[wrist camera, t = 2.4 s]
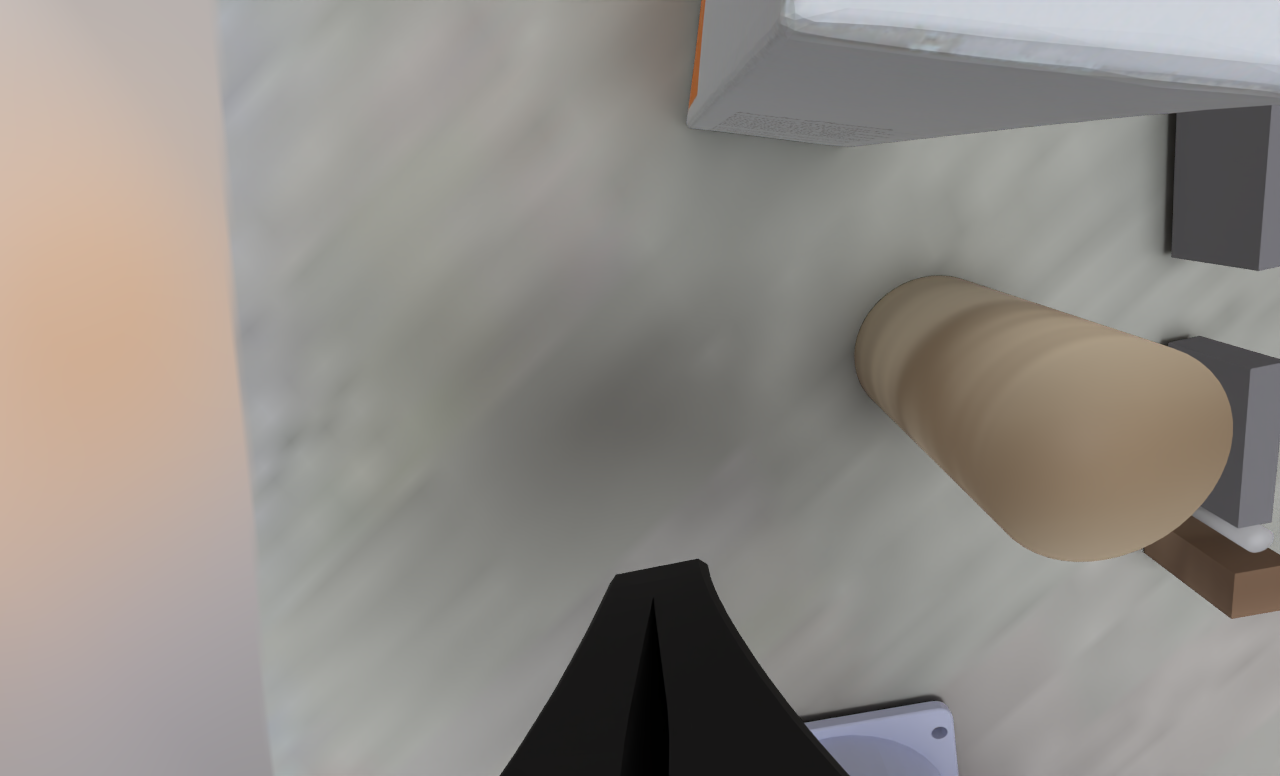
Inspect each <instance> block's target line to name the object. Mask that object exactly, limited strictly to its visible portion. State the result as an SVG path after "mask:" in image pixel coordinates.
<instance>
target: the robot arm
mask: <svg viewBox="0 0 1280 776" xmlns="http://www.w3.org/2000/svg"><path fill="white" fill-rule="evenodd" d="M937 727H939V728H937ZM935 728H936V729H935ZM500 776H959V774H958V763H957V753H956V743H955V732H954V722H953V716H952V713H951V712H950V710H949V708H948V706H947V705H946V704H944V703H943V702H940V701H930V702H924V703H918V704H912V705H906V706H900V707H894V708H888V709H883V710H877V711H871V712H865V713H859V714H853V715H847V716H841V717H836V718H830V719H824V720H818V721H812V722H806V723H804V722H803V721H802V720H801V719H800V718H799V716H798V715H797V714H796V713H795V711H794V710H793V709H792V708H791V706H790V705H789V704H788V702H787V701H786V700H785V698H784V697H783V696H782V694H781V693H780V692H779V690H778V689H777V688H776V687H775V685H774V684H773V683H772V681H771V680H770V679H769V677H768V676H767V674H766V673H765V671H764V670H763V669H762V667H761V666H760V664H759V663H758V662H757V660H756V659H755V657H754V656H753V654H752V652H751V651H750V649H749V648H748V646H747V645H746V643H745V642H744V640H743V639H742V637H741V636H740V634H739V633H738V631H737V629H736V628H735V626H734V624H733V623H732V621H731V619H730V618H729V616H728V614H727V612H726V610H725V608H724V606H723V604H722V603H721V601H720V599H719V597H718V595H717V592H716V590H715V588H714V586H713V583H712V581H711V577H710V573H709V569H708V565H707V564H706V563H704V562H703V561H701V560H699V559H694V560H689V561H684V562H679V563H674V564H669V565H664V566H658V567H653V568H648V569H643V570H638V571H633V572H628V573H622V574H617V575H616V576H615V577H614V578H613V580H612V581H611V583H610V585H609V587H608V589H607V591H606V593H605V595H604V597H603V599H602V601H601V603H600V606H599V608H598V610H597V612H596V614H595V616H594V618H593V620H592V622H591V624H590V626H589V628H588V630H587V632H586V633H585V635H584V637H583V639H582V641H581V643H580V645H579V647H578V649H577V650H576V652H575V654H574V656H573V658H572V660H571V661H570V663H569V665H568V667H567V669H566V670H565V672H564V674H563V676H562V678H561V679H560V681H559V683H558V685H557V687H556V688H555V690H554V692H553V693H552V695H551V697H550V698H549V700H548V702H547V703H546V705H545V706H544V708H543V710H542V711H541V713H540V714H539V716H538V718H537V719H536V721H535V722H534V724H533V726H532V727H531V729H530V730H529V732H528V734H527V735H526V737H525V738H524V740H523V742H522V743H521V745H520V746H519V748H518V750H517V751H516V753H515V754H514V756H513V757H512V759H511V760H510V761H509V763H508V764H507V766H506V767H505V769H504V770H503V772H502V773H501V775H500Z"/></svg>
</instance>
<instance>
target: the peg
mask: <svg viewBox="0 0 1280 776" xmlns="http://www.w3.org/2000/svg"><path fill="white" fill-rule="evenodd" d="M854 358H855V368H856V373H857V376H858V379H859V381H860V383H861V385H862V387H863V389H864V390H865V392H866V393H867V394H868V396H869V397H870V398H871V399H872V400H873V401H874V402H875V403H876V404H877V405H878V406H879V407H880V408H881V409H882V410H883V411H884V412H885V413H886V414H887V415H888V416H889V417H890V418H891V419H892V420H893V421H894V422H895V423H896V424H897V425H898V426H899V427H900V428H901V429H902V430H903V431H904V432H905V433H906V434H907V435H908V436H909V437H910V438H911V439H912V440H913V441H914V442H915V443H916V444H917V445H918V446H919V447H920V448H921V449H922V450H923V451H925V452H926V453H927V454H928V455H929V456H930V457H931V458H932V459H933V460H934V461H935V462H936V463H937V464H938V465H939V466H940V467H941V468H942V469H943V470H944V471H945V472H946V473H947V474H948V475H949V476H950V477H951V478H952V479H953V480H954V481H955V482H956V483H957V484H958V485H959V486H960V487H961V488H962V489H963V490H964V491H965V492H966V493H967V494H968V495H969V496H970V497H971V498H972V499H973V500H974V501H975V502H976V503H977V504H978V505H979V506H980V507H981V508H982V509H983V510H984V511H985V512H986V513H987V514H988V515H989V516H990V517H991V518H992V519H993V520H994V521H995V522H996V523H997V524H998V525H999V526H1000V527H1001V528H1002V529H1003V530H1004V531H1005V532H1006V533H1007V534H1008V535H1009V536H1010V537H1011V538H1012V539H1013V540H1015V541H1016V542H1017V543H1019V544H1020V545H1022V546H1023V547H1025V548H1027V549H1029V550H1031V551H1032V552H1034V553H1037V554H1040V555H1042V556H1045V557H1048V558H1053V559H1057V560H1062V561H1073V562H1088V561H1098V560H1106V559H1111V558H1115V557H1119V556H1123V555H1126V554H1129V553H1131V552H1134V551H1137V550H1139V549H1142V548H1144V547H1146V546H1148V545H1150V544H1152V543H1154V542H1156V541H1158V540H1159V539H1161V538H1163V537H1164V536H1166V535H1168V534H1169V533H1170V532H1172V531H1173V530H1175V529H1176V528H1177V527H1179V526H1180V525H1181V524H1182V523H1183V522H1185V521H1186V520H1187V519H1188V518H1189V517H1190V516H1191V515H1192V514H1193V513H1194V512H1195V511H1196V510H1197V509H1198V508H1199V507H1200V506H1201V505H1202V504H1203V502H1204V501H1205V500H1206V498H1207V497H1208V496H1209V494H1210V493H1211V492H1212V490H1213V489H1214V487H1215V485H1216V484H1217V482H1218V480H1219V479H1220V477H1221V474H1222V472H1223V470H1224V468H1225V465H1226V463H1227V460H1228V456H1229V453H1230V449H1231V443H1232V437H1233V418H1232V412H1231V406H1230V403H1229V401H1228V398H1227V395H1226V393H1225V391H1224V389H1223V387H1222V385H1221V384H1220V382H1219V380H1218V379H1217V378H1216V377H1215V376H1214V374H1213V373H1212V372H1211V371H1210V370H1209V369H1208V368H1207V367H1206V366H1204V365H1203V364H1202V363H1201V362H1200V361H1198V360H1196V359H1195V358H1193V357H1191V356H1190V355H1188V354H1186V353H1184V352H1181V351H1179V350H1176V349H1174V348H1171V347H1168V346H1165V345H1162V344H1159V343H1155V342H1152V341H1149V340H1146V339H1143V338H1140V337H1137V336H1134V335H1131V334H1128V333H1125V332H1122V331H1119V330H1116V329H1113V328H1110V327H1107V326H1104V325H1101V324H1098V323H1095V322H1092V321H1088V320H1085V319H1082V318H1079V317H1076V316H1073V315H1070V314H1067V313H1064V312H1061V311H1058V310H1055V309H1052V308H1049V307H1046V306H1043V305H1040V304H1037V303H1034V302H1031V301H1028V300H1024V299H1021V298H1018V297H1015V296H1012V295H1009V294H1006V293H1003V292H1000V291H997V290H994V289H991V288H988V287H985V286H982V285H979V284H976V283H973V282H970V281H967V280H964V279H960V278H956V277H952V276H942V275H941V276H928V277H922V278H918V279H915V280H911V281H909V282H907V283H904V284H902V285H900V286H899V287H897V288H895V289H893V290H892V291H891V292H889V293H888V294H887V295H885V296H884V297H883V298H882V299H881V300H880V301H879V302H878V303H877V304H876V305H875V306H874V307H873V308H872V310H871V311H870V312H869V314H868V315H867V317H866V318H865V320H864V322H863V324H862V326H861V328H860V331H859V333H858V336H857V340H856V345H855V354H854Z"/></svg>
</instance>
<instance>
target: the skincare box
mask: <svg viewBox="0 0 1280 776" xmlns="http://www.w3.org/2000/svg"><path fill="white" fill-rule="evenodd" d="M1279 104H1280V0H702V1H701V9H700V18H699V27H698V36H697V44H696V53H695V62H694V69H693V77H692V84H691V91H690V98H689V106H688V114H687V122H686V124H687V126H688V127H689V128H692V129H701V130H710V131H719V132H728V133H736V134H744V135H752V136H759V137H767V138H775V139H783V140H791V141H798V142H807V143H816V144H824V145H833V146H846V147H852V146H862V145H871V144H880V143H889V142H899V141H908V140H916V139H927V138H935V137H943V136H951V135H960V134H970V133H979V132H988V131H997V130H1005V129H1014V128H1024V127H1034V126H1043V125H1052V124H1062V123H1074V122H1084V121H1093V120H1102V119H1112V118H1122V117H1132V116H1142V115H1155V114H1168V113H1180V112H1190V111H1200V110H1210V109H1224V108H1238V107H1252V106H1266V105H1279Z"/></svg>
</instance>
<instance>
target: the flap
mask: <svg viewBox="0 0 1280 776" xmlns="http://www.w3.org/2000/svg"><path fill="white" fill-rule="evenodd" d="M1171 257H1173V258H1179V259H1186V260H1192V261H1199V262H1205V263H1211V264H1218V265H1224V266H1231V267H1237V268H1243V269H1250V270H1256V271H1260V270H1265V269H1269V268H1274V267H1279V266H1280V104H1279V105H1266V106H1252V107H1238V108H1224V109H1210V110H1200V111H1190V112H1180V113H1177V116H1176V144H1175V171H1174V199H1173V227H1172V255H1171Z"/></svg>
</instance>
